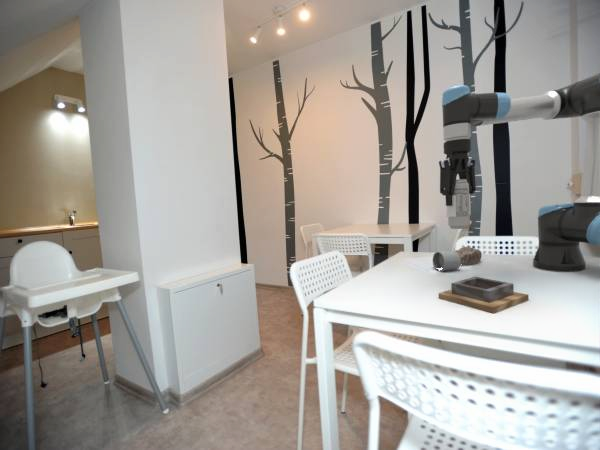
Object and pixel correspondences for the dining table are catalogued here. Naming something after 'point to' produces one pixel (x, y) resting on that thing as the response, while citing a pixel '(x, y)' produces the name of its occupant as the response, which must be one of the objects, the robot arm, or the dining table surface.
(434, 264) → the ceramic mug
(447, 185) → the robot arm
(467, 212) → the energy drink can
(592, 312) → the dining table surface
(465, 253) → the seashell
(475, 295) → the board
